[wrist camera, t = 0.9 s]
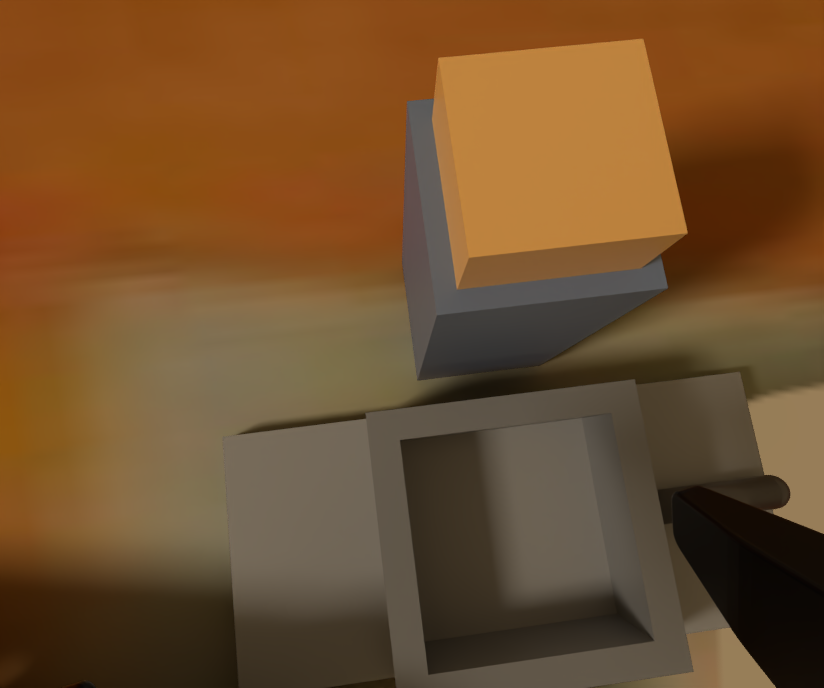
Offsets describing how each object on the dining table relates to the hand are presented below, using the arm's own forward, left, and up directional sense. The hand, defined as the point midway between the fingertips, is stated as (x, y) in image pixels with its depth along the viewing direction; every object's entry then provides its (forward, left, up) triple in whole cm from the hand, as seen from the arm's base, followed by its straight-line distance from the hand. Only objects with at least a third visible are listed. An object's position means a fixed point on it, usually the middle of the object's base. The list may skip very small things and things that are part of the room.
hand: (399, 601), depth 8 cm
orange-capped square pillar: (+3, -8, -13) cm, 16 cm away
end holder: (-3, -2, -13) cm, 14 cm away
